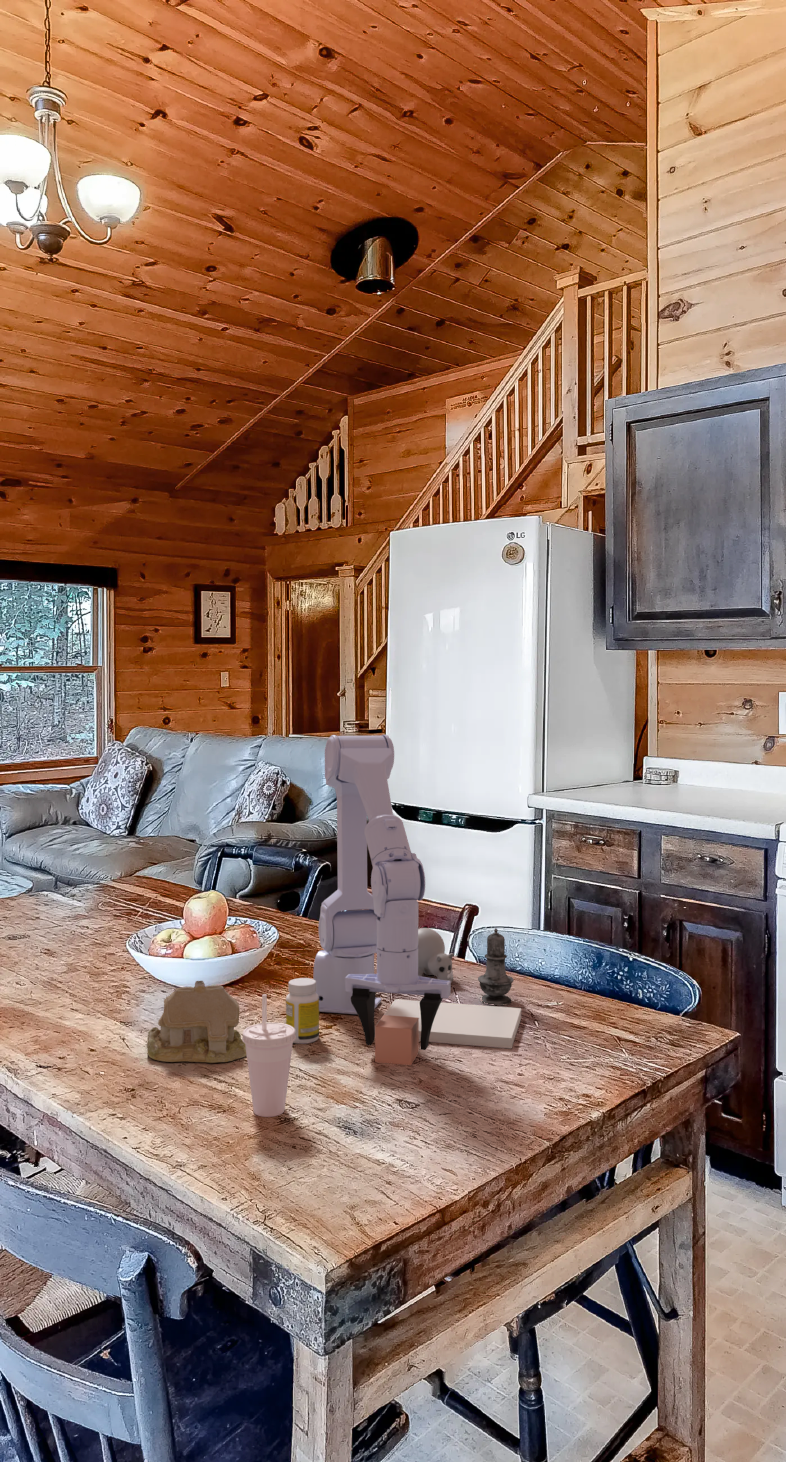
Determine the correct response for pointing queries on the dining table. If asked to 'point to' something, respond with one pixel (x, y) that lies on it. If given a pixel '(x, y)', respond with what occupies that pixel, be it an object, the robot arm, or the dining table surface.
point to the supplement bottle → (303, 1010)
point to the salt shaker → (495, 972)
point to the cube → (397, 1040)
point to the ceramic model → (197, 1027)
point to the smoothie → (268, 1063)
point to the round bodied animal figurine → (433, 955)
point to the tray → (465, 1023)
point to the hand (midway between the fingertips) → (397, 1045)
